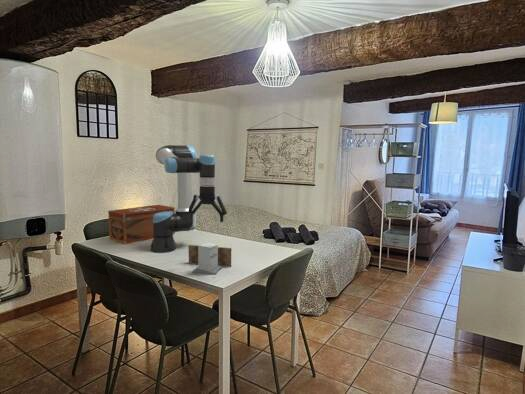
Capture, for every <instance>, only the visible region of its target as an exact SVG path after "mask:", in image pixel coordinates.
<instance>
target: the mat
mask: <svg viewBox="0 0 525 394" xmlns="http://www.w3.org/2000/svg"><path fill="white" fill-rule="evenodd" d="M222 267H223V266H218V268H216V269H214V270H211V271H210V272H208V271H204V270H200V269H198V266H196V267H195V268H194V269H193V270H192V274H203V275H211V276H212V275H213V276H216V275H217V274H218V272H220V271H221V270H222Z"/></svg>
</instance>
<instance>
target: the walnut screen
mask: <svg viewBox="0 0 525 394" xmlns="http://www.w3.org/2000/svg"><path fill="white" fill-rule="evenodd" d="M198 246H199V245H198V244H197V245H196V244H189V245H188V264H195V265H198ZM218 266H222V267H229V268H230V267H232V247H225V246H224V247H223V246H218Z"/></svg>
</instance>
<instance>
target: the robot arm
mask: <svg viewBox="0 0 525 394" xmlns="http://www.w3.org/2000/svg"><path fill="white" fill-rule="evenodd" d="M155 158H156V160H157V161H158V163H159V164H161V165H164V171H165V173H166V174H176V175H177V176H176V177H177V208H176V209H175V213H174V214H173V213H172V212H171V211H165V212H159V213H157V214H155V215H154V216H153V238H152V241H151V244H150V252H153V253H169V252H170V253H171V252H173V251H175V250H177V244H176V241H175V239H174V234H173V232H175V233H178V232H179V233H180V232H190V231H195V229H196V228H197V224H198V214H197V211H198V210H199V209H200V208H201V206H202V205H211V206H212V207H213V209H215V211H216V212H217V214H218V219H217V221H218V229H219V230H221V229H222V227H223V225H222V224H223V222H224V216H226V215H227V214H228V211H227V209H226V207H225V205H224V203H223V201H222V196H221V195H216V194H215V193H216V187H215V185H216V180H215V179H216V175H215V174H216V172H215V171H216V157H215V155H213V154H201V155H200V154H199V157H198V158H197V152H196V149H195V147H194V146H192V145H186V144H185V145H181V144H179V145H175V144H174V145H172V144H169V145H163V146H161V147H159V148H158V149H157V150H156V152H155ZM192 174H199V185H200V186H199V195H198V194H194V195H193V199H192ZM215 199H216V201H217V202H216V201H215ZM198 200H199V202H198V203H197V201H198ZM196 203H197V204H196ZM217 203H218V204H217ZM195 205H196V206H195Z"/></svg>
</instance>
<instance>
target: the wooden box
mask: <svg viewBox="0 0 525 394" xmlns="http://www.w3.org/2000/svg"><path fill="white" fill-rule="evenodd" d="M165 211H171V212H172V213H173V214H174V213H176V209H175V207H174V206H168V205H163V204H155V205H144V206H138V207H136V206H135V207H129V208H121V209H114V210H107V212H108V236H109V238H108V239H109V240H111V241H112V242H113V241H114V242H118V243H119V244H123V245H128V244H133V243H137V242H138V243H139V242H141V241H142V242H143V241H147V240H151V239H152V240H153V216H154V215H155V214H157V213H159V212H165ZM175 234H176V232H173V235H175Z"/></svg>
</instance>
